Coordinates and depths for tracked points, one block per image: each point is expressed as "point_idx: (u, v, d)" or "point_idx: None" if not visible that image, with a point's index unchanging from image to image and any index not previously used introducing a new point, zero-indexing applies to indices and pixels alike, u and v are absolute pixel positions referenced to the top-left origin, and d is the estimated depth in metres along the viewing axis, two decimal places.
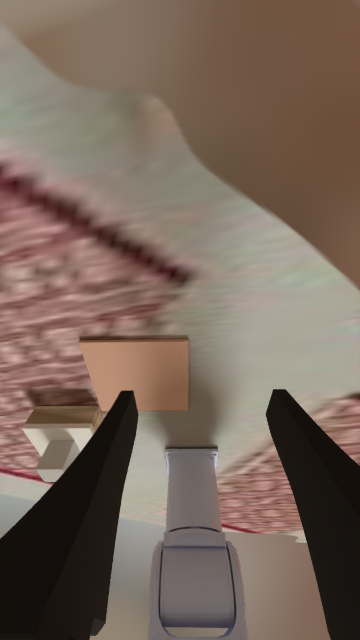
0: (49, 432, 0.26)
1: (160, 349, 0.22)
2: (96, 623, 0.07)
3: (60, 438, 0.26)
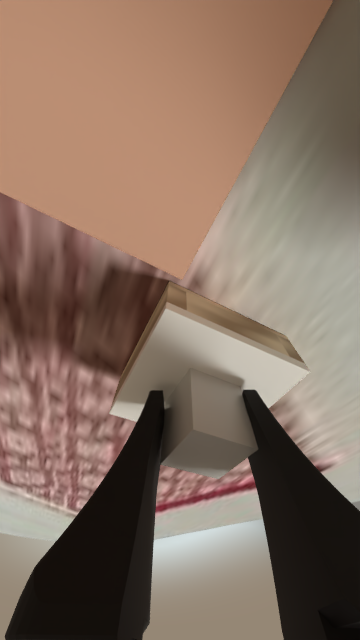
0: (140, 387, 0.12)
1: None
2: (144, 624, 0.07)
3: (168, 384, 0.11)
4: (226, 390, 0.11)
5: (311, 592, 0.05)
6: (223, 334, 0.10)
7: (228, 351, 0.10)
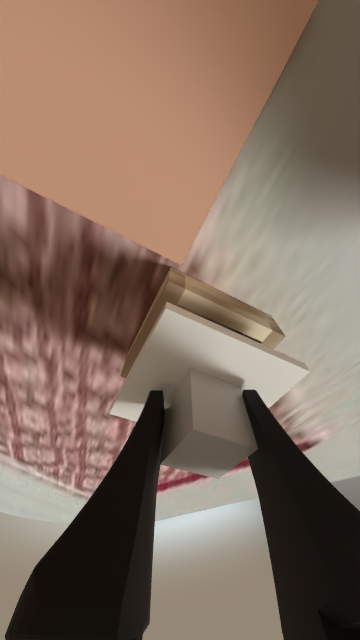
0: (140, 387, 0.12)
1: None
2: (144, 624, 0.07)
3: (168, 384, 0.11)
4: (226, 390, 0.11)
5: (311, 592, 0.05)
6: (223, 334, 0.10)
7: (228, 351, 0.10)
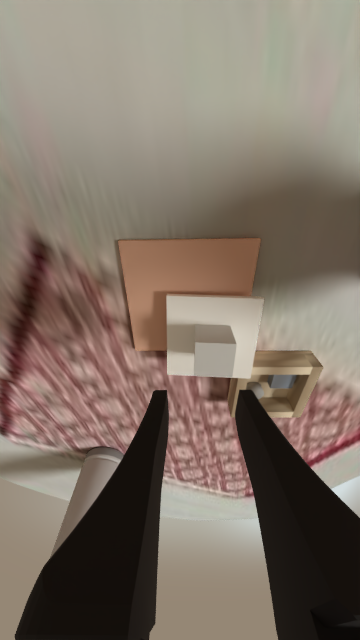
0: (175, 348, 0.20)
1: (135, 276, 0.18)
2: (150, 624, 0.07)
3: (189, 340, 0.19)
4: (219, 328, 0.18)
5: (303, 592, 0.05)
6: (200, 297, 0.18)
7: (209, 305, 0.18)
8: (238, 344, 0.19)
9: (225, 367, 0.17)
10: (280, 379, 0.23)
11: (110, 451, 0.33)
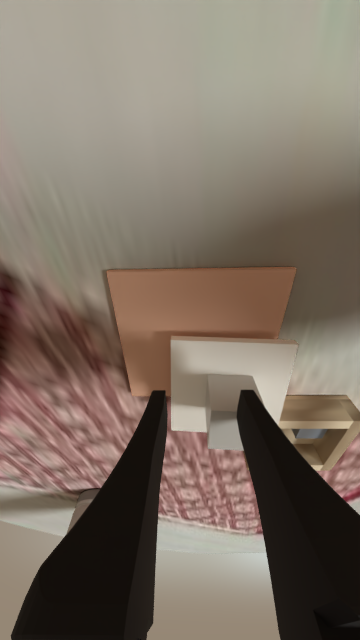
0: (182, 401, 0.16)
1: (129, 313, 0.14)
2: (147, 624, 0.07)
3: (200, 392, 0.15)
4: (239, 381, 0.14)
5: (307, 592, 0.05)
6: (215, 342, 0.14)
7: (226, 352, 0.14)
8: (262, 397, 0.15)
9: None
10: (309, 429, 0.19)
11: None
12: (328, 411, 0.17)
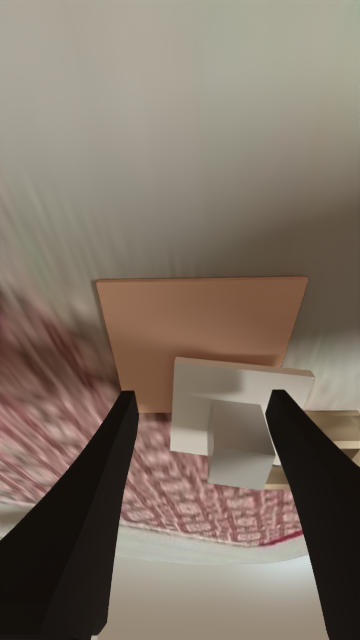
0: (183, 423, 0.15)
1: (122, 327, 0.13)
2: (98, 623, 0.07)
3: (202, 416, 0.14)
4: (246, 411, 0.13)
5: None
6: (223, 368, 0.13)
7: (234, 379, 0.13)
8: None
9: (254, 478, 0.11)
10: None
11: None
12: (339, 429, 0.16)
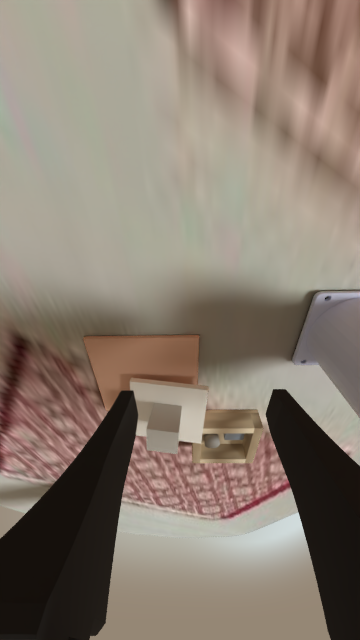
0: (138, 417, 0.24)
1: (99, 361, 0.22)
2: (96, 623, 0.07)
3: (149, 412, 0.24)
4: (171, 409, 0.22)
5: None
6: (157, 384, 0.22)
7: (164, 391, 0.22)
8: (189, 419, 0.23)
9: (171, 447, 0.21)
10: (231, 433, 0.27)
11: None
12: (240, 421, 0.25)
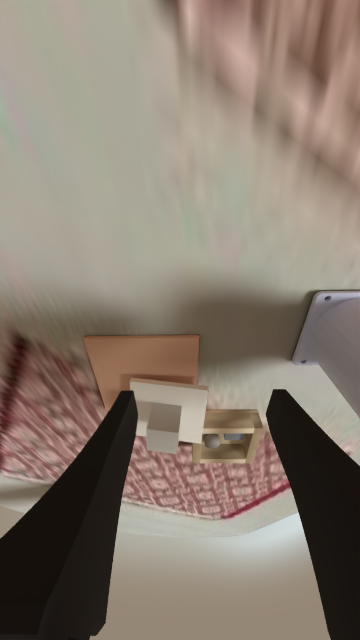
0: (138, 417, 0.24)
1: (99, 361, 0.22)
2: (96, 623, 0.07)
3: (149, 412, 0.24)
4: (171, 409, 0.22)
5: None
6: (157, 384, 0.22)
7: (164, 391, 0.22)
8: (189, 419, 0.23)
9: (171, 447, 0.21)
10: (231, 433, 0.27)
11: None
12: (240, 421, 0.25)
